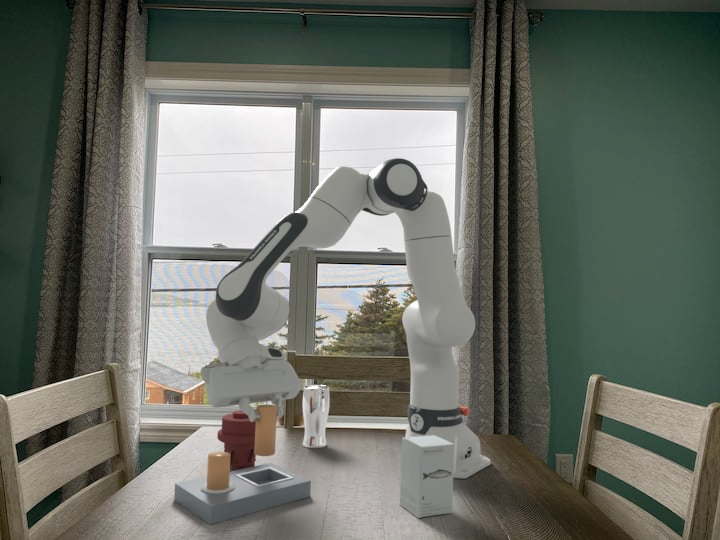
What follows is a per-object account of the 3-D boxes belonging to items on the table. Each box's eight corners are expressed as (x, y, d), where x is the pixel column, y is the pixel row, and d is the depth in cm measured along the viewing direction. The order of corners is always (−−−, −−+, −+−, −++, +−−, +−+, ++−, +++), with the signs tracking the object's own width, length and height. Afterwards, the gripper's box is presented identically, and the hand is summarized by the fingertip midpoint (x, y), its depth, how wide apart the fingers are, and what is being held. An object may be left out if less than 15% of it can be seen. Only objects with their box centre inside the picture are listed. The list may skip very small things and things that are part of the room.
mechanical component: (268, 463, 125) (251, 477, 115) (228, 459, 127) (207, 473, 117) (271, 409, 126) (254, 418, 116) (230, 406, 128) (210, 414, 118)
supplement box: (418, 519, 97) (420, 446, 97) (398, 504, 103) (400, 436, 104) (453, 514, 99) (455, 443, 100) (432, 499, 106) (434, 433, 107)
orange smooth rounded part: (267, 449, 110) (269, 403, 110) (278, 453, 107) (281, 407, 108) (250, 452, 107) (252, 406, 108) (261, 457, 104) (263, 409, 105)
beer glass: (326, 449, 138) (329, 389, 139) (299, 448, 138) (301, 388, 139) (328, 442, 145) (330, 385, 146) (302, 441, 145) (304, 384, 146)
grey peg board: (269, 477, 116) (271, 434, 116) (310, 496, 106) (312, 449, 106) (174, 499, 102) (176, 450, 102) (210, 524, 92) (212, 469, 92)
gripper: (203, 354, 106) (226, 415, 98) (290, 350, 120) (316, 403, 112) (192, 374, 109) (213, 435, 102) (277, 368, 123) (302, 421, 115)
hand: (268, 418), depth 107 cm, fingers closed on orange smooth rounded part, 4 cm apart
